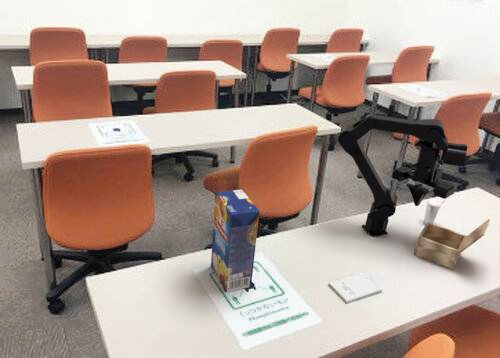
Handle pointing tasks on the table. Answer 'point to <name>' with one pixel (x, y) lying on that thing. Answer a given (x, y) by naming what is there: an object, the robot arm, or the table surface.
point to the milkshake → (431, 211)
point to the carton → (439, 245)
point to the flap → (475, 235)
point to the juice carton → (234, 239)
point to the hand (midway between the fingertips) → (416, 205)
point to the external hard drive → (355, 287)
